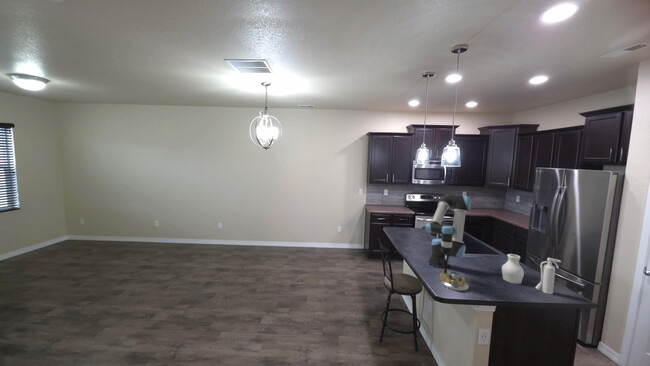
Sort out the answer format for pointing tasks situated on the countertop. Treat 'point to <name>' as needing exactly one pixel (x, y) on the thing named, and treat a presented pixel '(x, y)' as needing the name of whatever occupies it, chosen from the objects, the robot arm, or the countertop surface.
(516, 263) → the vase
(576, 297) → the countertop surface
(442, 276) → the gold crown ring
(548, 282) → the fire extinguisher
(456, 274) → the flange
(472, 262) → the countertop surface
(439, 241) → the robot arm
